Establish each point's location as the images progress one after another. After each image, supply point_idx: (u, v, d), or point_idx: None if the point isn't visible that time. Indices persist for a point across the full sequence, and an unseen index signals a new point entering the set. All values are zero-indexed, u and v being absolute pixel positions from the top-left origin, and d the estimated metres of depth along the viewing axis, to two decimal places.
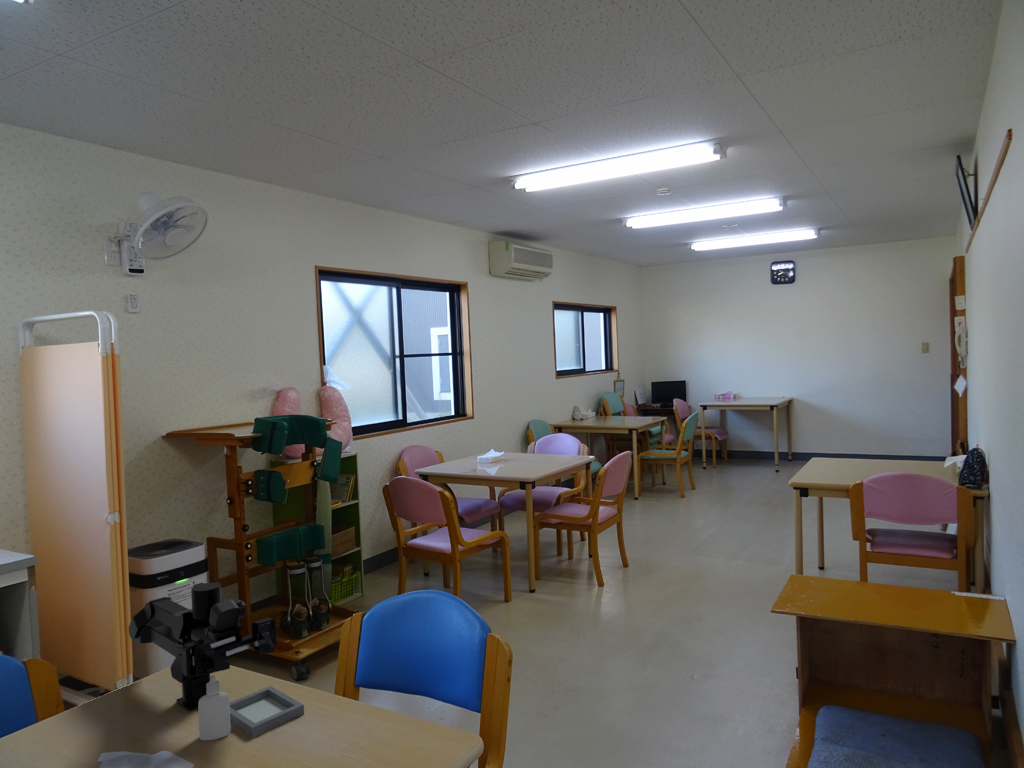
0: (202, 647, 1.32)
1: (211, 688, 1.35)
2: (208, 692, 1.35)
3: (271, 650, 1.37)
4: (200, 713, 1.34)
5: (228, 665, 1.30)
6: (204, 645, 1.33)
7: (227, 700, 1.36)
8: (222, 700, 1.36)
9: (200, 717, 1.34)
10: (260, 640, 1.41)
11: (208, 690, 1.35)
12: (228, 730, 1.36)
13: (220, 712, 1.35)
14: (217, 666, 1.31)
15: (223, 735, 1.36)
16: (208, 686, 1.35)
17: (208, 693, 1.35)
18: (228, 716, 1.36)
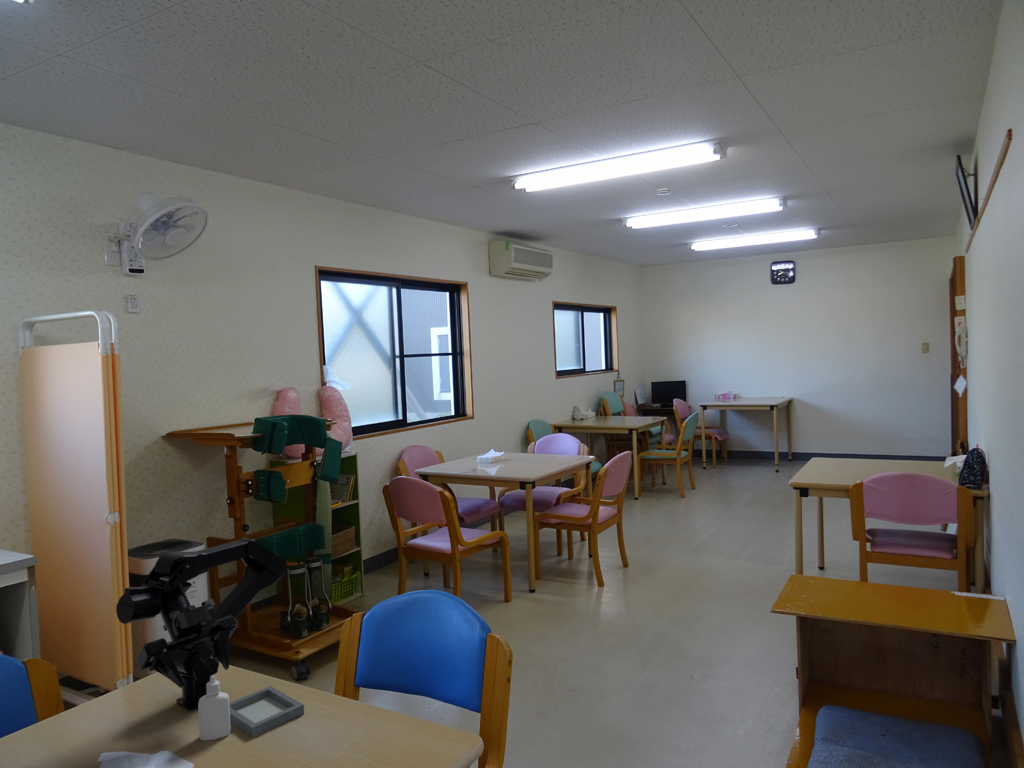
0: (163, 655, 1.34)
1: (211, 688, 1.35)
2: (208, 692, 1.35)
3: (225, 667, 1.42)
4: (200, 713, 1.34)
5: (182, 686, 1.34)
6: (166, 653, 1.35)
7: (227, 700, 1.36)
8: (222, 700, 1.36)
9: (200, 717, 1.34)
10: (217, 642, 1.44)
11: (208, 690, 1.35)
12: (228, 730, 1.36)
13: (220, 712, 1.35)
14: (172, 677, 1.35)
15: (223, 735, 1.36)
16: (208, 686, 1.35)
17: (208, 693, 1.35)
18: (228, 716, 1.36)
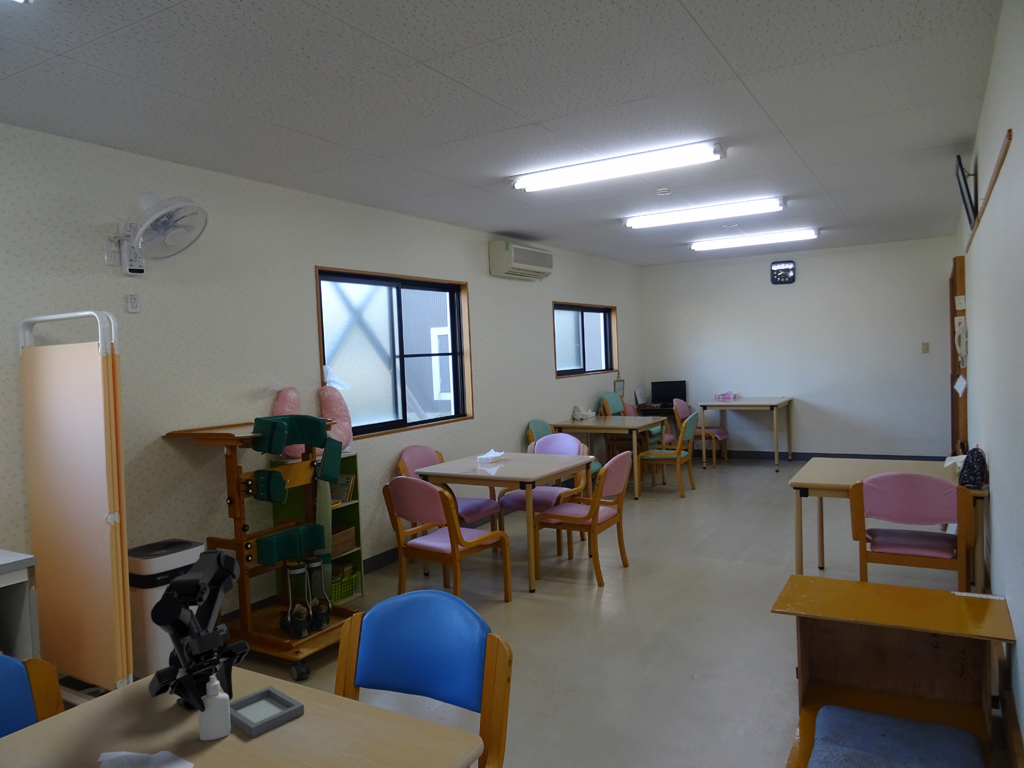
0: (185, 679, 1.33)
1: (211, 688, 1.35)
2: (208, 692, 1.35)
3: None
4: (200, 713, 1.34)
5: (203, 710, 1.33)
6: (187, 677, 1.33)
7: (227, 700, 1.36)
8: (222, 700, 1.36)
9: (200, 717, 1.34)
10: (220, 671, 1.41)
11: (208, 690, 1.35)
12: (228, 730, 1.36)
13: (220, 712, 1.35)
14: (192, 701, 1.34)
15: (223, 735, 1.36)
16: (208, 686, 1.35)
17: (208, 693, 1.35)
18: (228, 716, 1.36)
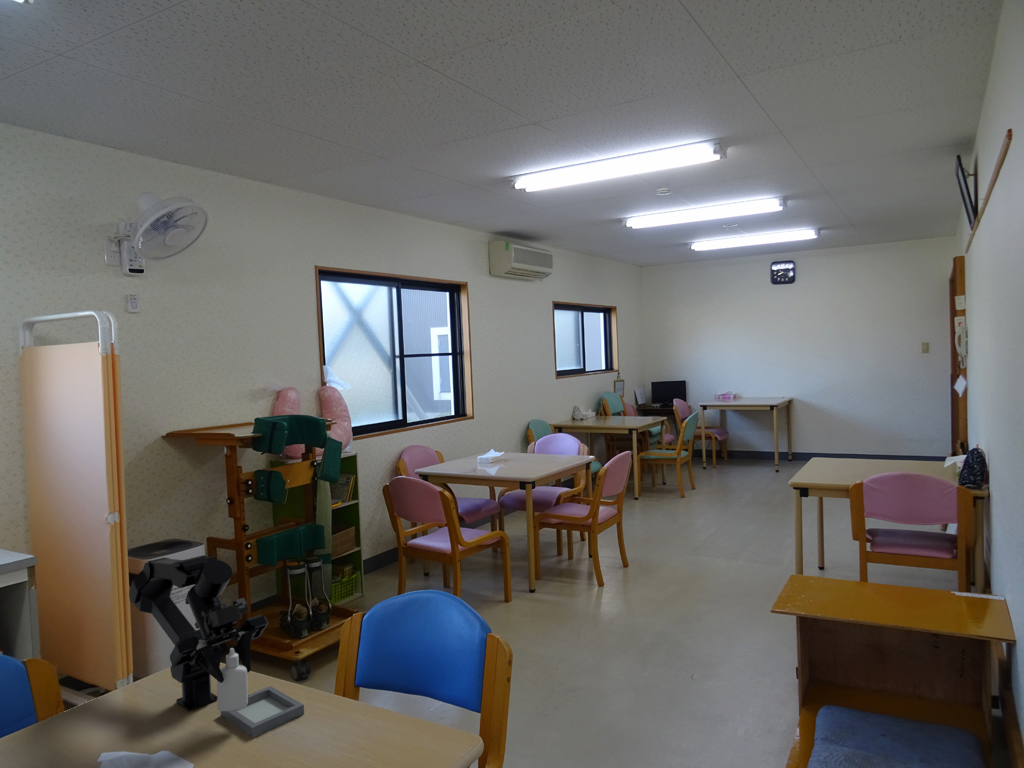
0: (204, 650, 1.36)
1: (230, 660, 1.38)
2: (227, 664, 1.38)
3: (247, 670, 1.41)
4: (219, 684, 1.37)
5: (222, 681, 1.36)
6: (207, 648, 1.37)
7: (245, 673, 1.39)
8: (240, 672, 1.38)
9: (219, 688, 1.37)
10: (239, 644, 1.43)
11: (227, 662, 1.38)
12: (245, 702, 1.39)
13: (237, 684, 1.38)
14: (212, 672, 1.37)
15: (240, 707, 1.39)
16: (227, 658, 1.38)
17: (227, 665, 1.38)
18: (246, 688, 1.39)
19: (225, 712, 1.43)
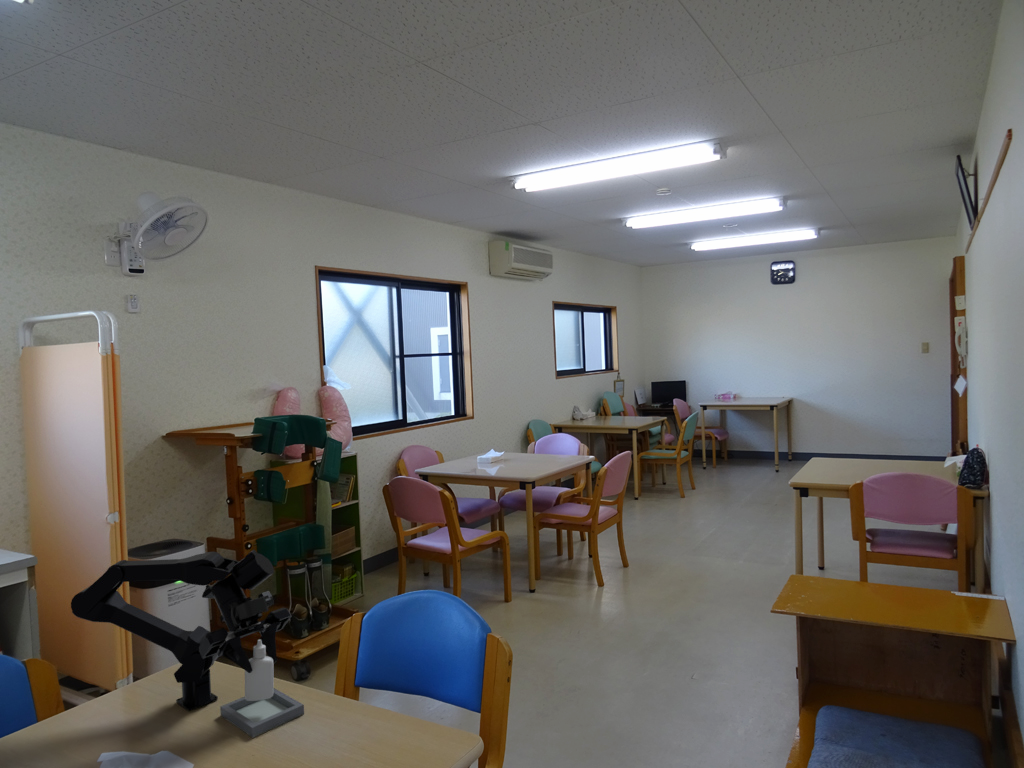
0: (233, 641, 1.40)
1: (258, 651, 1.42)
2: (255, 655, 1.42)
3: (273, 660, 1.45)
4: (247, 674, 1.42)
5: (250, 671, 1.40)
6: (235, 639, 1.41)
7: (272, 663, 1.44)
8: (267, 663, 1.43)
9: (246, 678, 1.42)
10: (265, 636, 1.48)
11: (255, 653, 1.42)
12: (272, 692, 1.43)
13: (265, 674, 1.42)
14: (240, 663, 1.41)
15: (267, 697, 1.43)
16: (255, 649, 1.42)
17: (255, 656, 1.42)
18: (272, 679, 1.44)
19: (225, 712, 1.43)
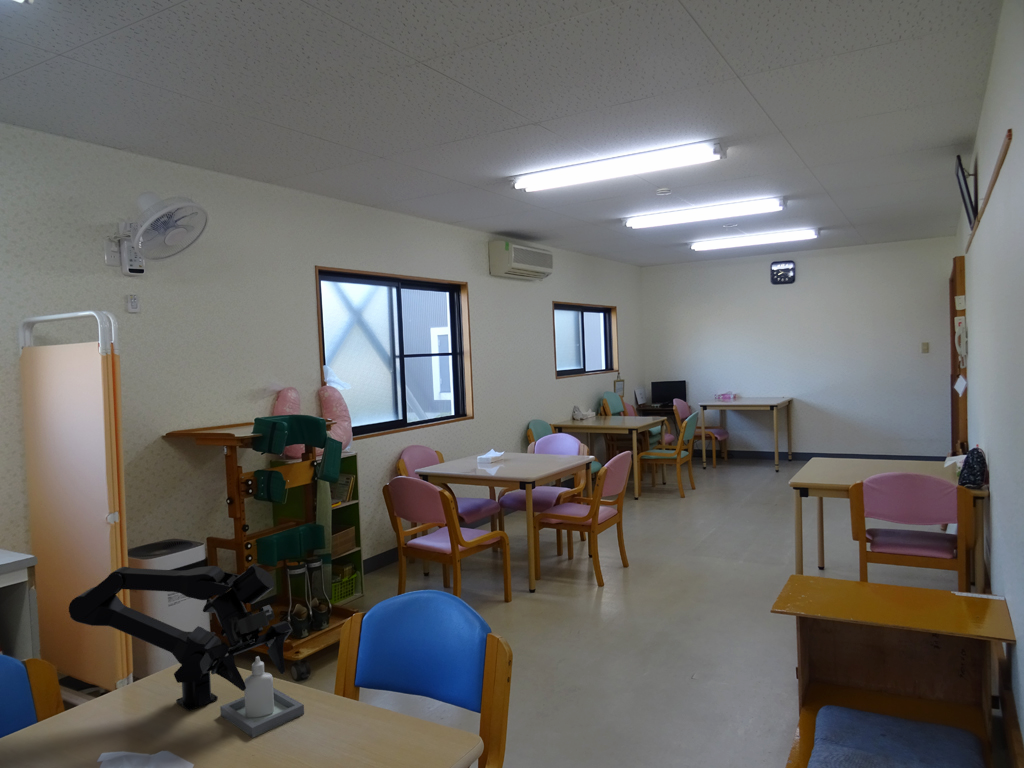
0: (226, 659, 1.39)
1: (256, 668, 1.42)
2: (253, 672, 1.42)
3: (281, 671, 1.47)
4: (246, 692, 1.42)
5: (244, 689, 1.39)
6: (229, 657, 1.40)
7: (271, 680, 1.43)
8: (266, 680, 1.43)
9: (246, 696, 1.42)
10: (272, 647, 1.49)
11: (253, 670, 1.42)
12: (272, 708, 1.44)
13: (264, 691, 1.42)
14: (234, 681, 1.40)
15: (268, 713, 1.43)
16: (253, 666, 1.42)
17: (253, 673, 1.42)
18: (272, 695, 1.44)
19: (225, 712, 1.43)
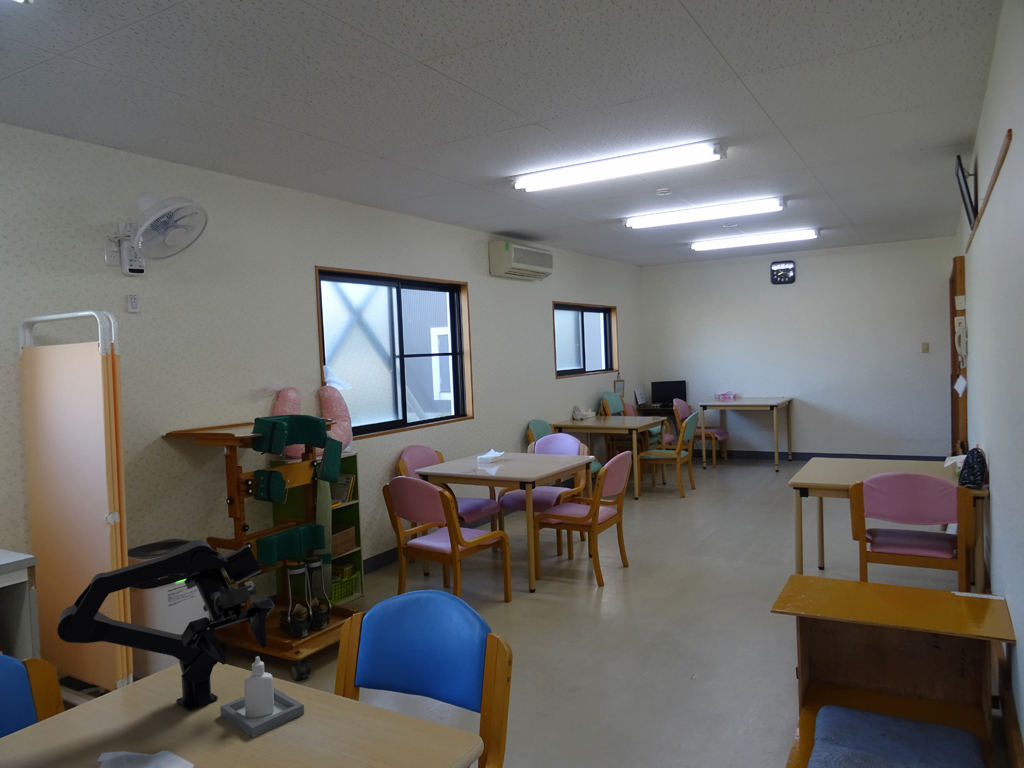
0: (207, 633, 1.40)
1: (256, 668, 1.42)
2: (253, 672, 1.42)
3: (263, 646, 1.48)
4: (246, 692, 1.42)
5: (224, 663, 1.40)
6: (209, 631, 1.41)
7: (271, 680, 1.43)
8: (266, 680, 1.43)
9: (246, 696, 1.42)
10: (255, 623, 1.51)
11: (253, 670, 1.42)
12: (272, 708, 1.44)
13: (264, 691, 1.42)
14: (214, 655, 1.41)
15: (268, 713, 1.43)
16: (253, 666, 1.42)
17: (253, 673, 1.42)
18: (272, 695, 1.44)
19: (225, 712, 1.43)
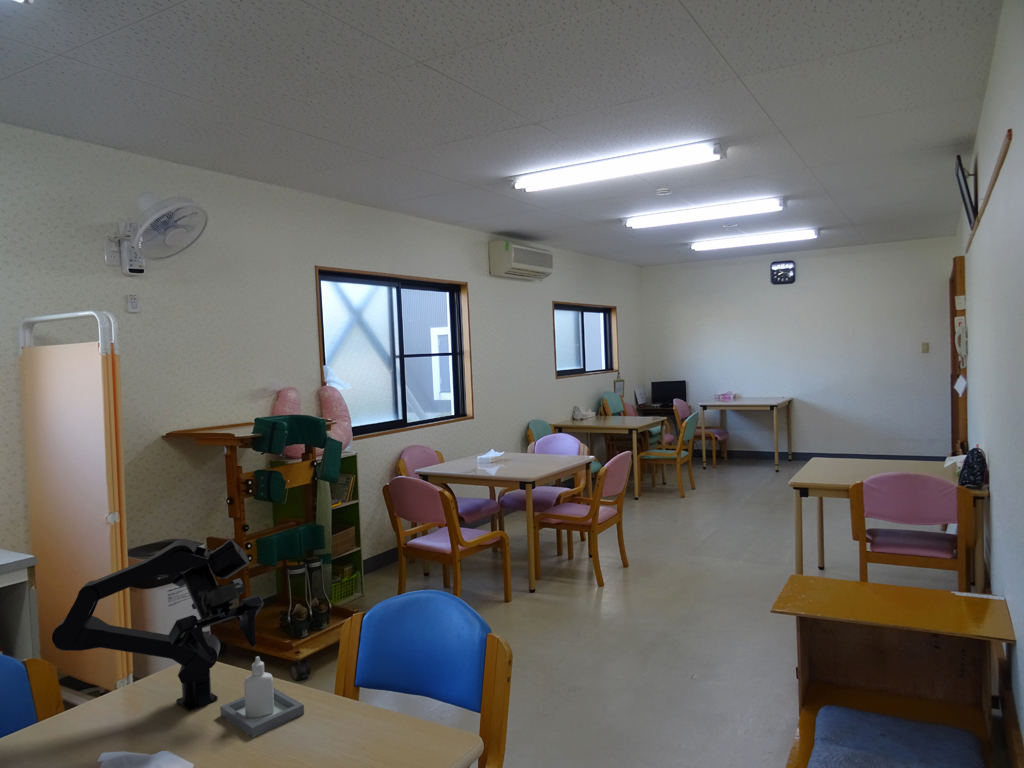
0: (195, 631, 1.39)
1: (256, 668, 1.42)
2: (253, 672, 1.42)
3: (252, 644, 1.46)
4: (246, 692, 1.42)
5: (212, 661, 1.39)
6: (197, 629, 1.39)
7: (271, 680, 1.43)
8: (266, 680, 1.43)
9: (246, 695, 1.42)
10: (244, 620, 1.49)
11: (253, 670, 1.42)
12: (272, 708, 1.44)
13: (264, 691, 1.42)
14: (202, 653, 1.40)
15: (268, 713, 1.43)
16: (253, 666, 1.42)
17: (253, 673, 1.42)
18: (272, 695, 1.44)
19: (225, 712, 1.43)
